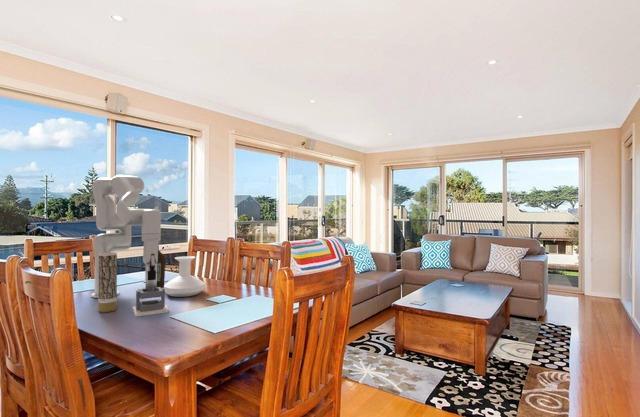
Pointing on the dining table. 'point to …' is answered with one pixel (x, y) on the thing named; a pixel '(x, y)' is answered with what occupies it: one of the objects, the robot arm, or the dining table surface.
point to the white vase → (184, 280)
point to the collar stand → (150, 302)
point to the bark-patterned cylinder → (107, 282)
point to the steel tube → (150, 284)
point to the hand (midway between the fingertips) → (150, 278)
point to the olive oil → (160, 269)
